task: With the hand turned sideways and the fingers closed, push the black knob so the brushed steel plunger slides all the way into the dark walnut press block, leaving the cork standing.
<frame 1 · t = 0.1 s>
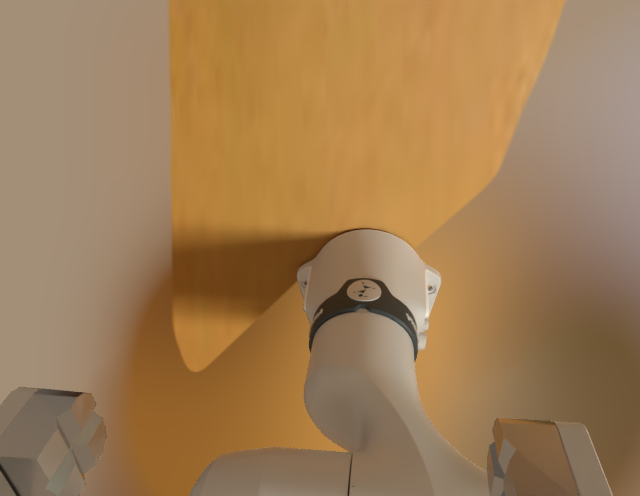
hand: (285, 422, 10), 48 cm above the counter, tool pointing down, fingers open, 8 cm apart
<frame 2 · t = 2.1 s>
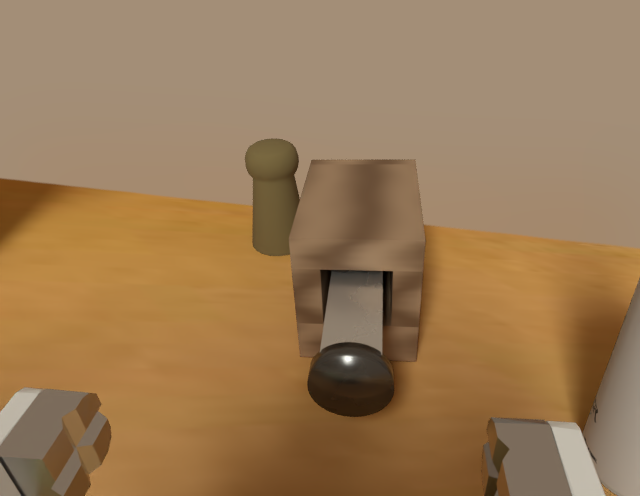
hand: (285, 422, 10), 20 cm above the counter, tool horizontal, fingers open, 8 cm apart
energy drink can: (630, 469, 31), on the counter
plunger: (355, 315, 35), point 6 cm above the counter, slide at 0.0 cm
press block: (360, 308, 44), on the counter
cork: (280, 241, 55), on the counter
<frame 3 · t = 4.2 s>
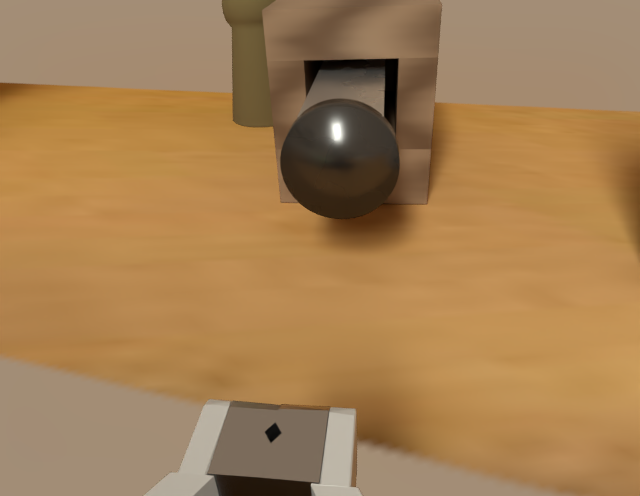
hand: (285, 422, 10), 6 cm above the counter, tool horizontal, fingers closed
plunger: (349, 117, 26), point 6 cm above the counter, slide at 0.0 cm
press block: (357, 164, 36), on the counter
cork: (265, 118, 47), on the counter
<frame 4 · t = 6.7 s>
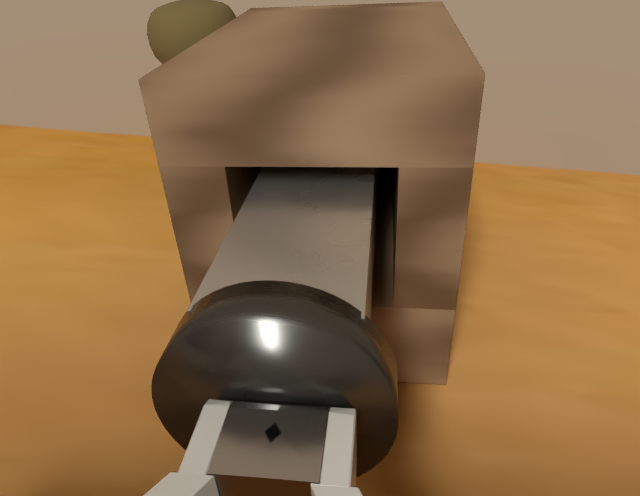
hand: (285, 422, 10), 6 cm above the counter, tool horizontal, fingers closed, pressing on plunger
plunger: (313, 246, 15), point 6 cm above the counter, slide at 1.6 cm, touching gripper
press block: (337, 281, 24), on the counter
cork: (220, 183, 34), on the counter
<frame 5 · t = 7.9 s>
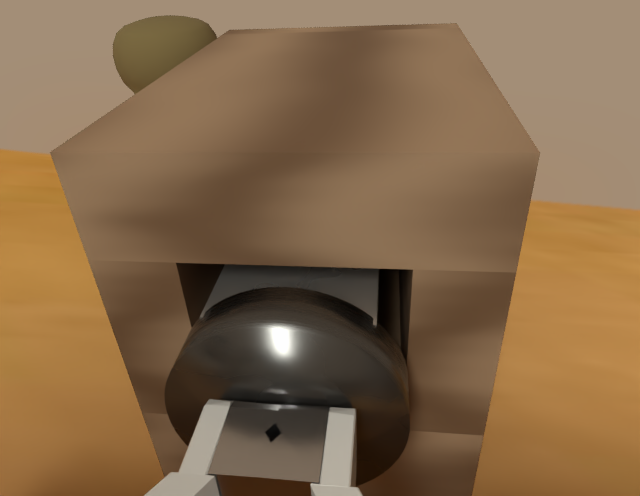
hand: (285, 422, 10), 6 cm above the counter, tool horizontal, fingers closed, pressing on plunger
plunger: (320, 250, 16), point 6 cm above the counter, slide at 6.3 cm, touching gripper
press block: (332, 355, 20), on the counter
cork: (201, 220, 30), on the counter
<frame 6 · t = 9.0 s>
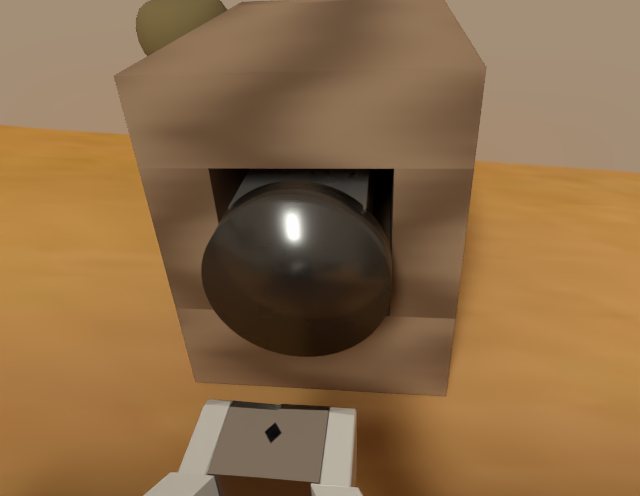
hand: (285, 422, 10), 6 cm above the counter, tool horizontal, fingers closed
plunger: (322, 181, 18), point 6 cm above the counter, slide at 6.3 cm
press block: (332, 286, 23), on the counter
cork: (213, 183, 33), on the counter
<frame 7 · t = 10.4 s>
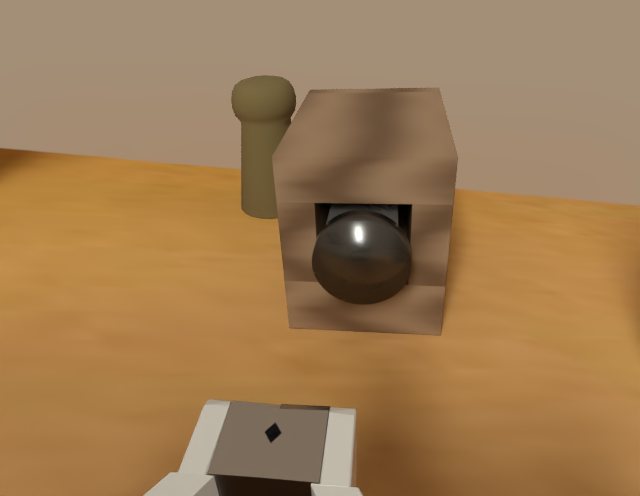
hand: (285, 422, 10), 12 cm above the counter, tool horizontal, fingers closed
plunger: (367, 207, 31), point 6 cm above the counter, slide at 6.3 cm
press block: (368, 274, 35), on the counter
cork: (274, 204, 46), on the counter
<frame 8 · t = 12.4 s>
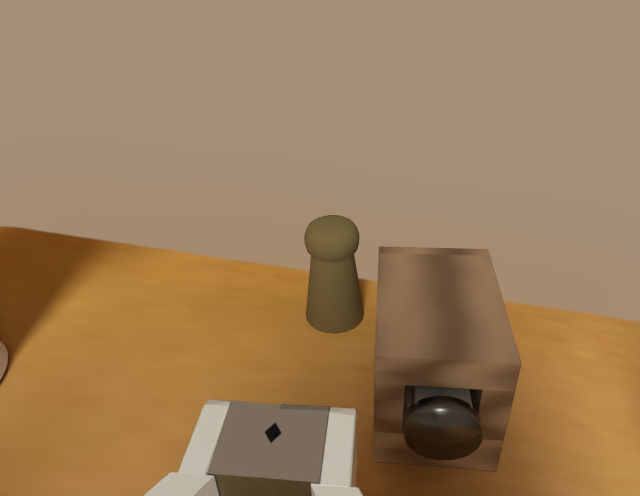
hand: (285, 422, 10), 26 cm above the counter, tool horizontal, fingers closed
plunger: (435, 365, 38), point 6 cm above the counter, slide at 6.3 cm
press block: (428, 402, 43), on the counter
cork: (334, 315, 53), on the counter
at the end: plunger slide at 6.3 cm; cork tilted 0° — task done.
